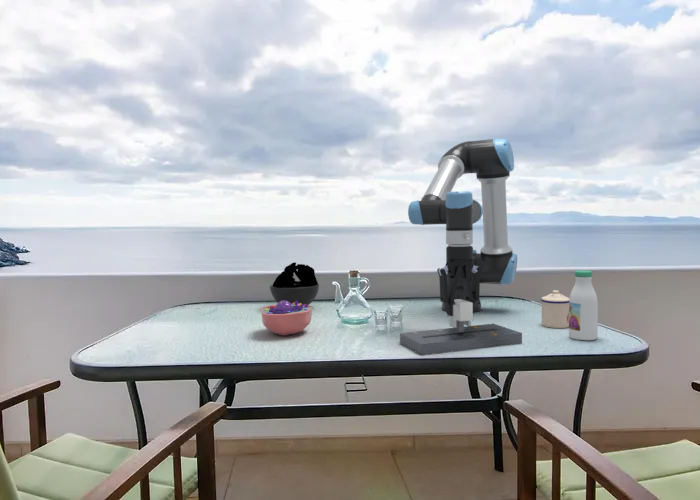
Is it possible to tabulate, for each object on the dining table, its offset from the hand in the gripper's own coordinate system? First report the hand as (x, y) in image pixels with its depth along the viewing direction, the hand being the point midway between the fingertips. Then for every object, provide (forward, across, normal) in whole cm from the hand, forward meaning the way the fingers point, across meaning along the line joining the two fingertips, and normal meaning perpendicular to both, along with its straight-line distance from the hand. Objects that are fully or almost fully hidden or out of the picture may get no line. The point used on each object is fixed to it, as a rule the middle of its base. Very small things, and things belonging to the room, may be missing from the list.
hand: (460, 325), depth 147 cm
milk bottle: (+5, +36, -9) cm, 37 cm away
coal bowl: (+5, -32, +76) cm, 83 cm away
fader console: (+5, 0, 0) cm, 5 cm away
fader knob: (+2, 0, 0) cm, 2 cm away
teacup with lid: (+5, +41, +9) cm, 42 cm away
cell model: (+5, -44, +34) cm, 56 cm away
